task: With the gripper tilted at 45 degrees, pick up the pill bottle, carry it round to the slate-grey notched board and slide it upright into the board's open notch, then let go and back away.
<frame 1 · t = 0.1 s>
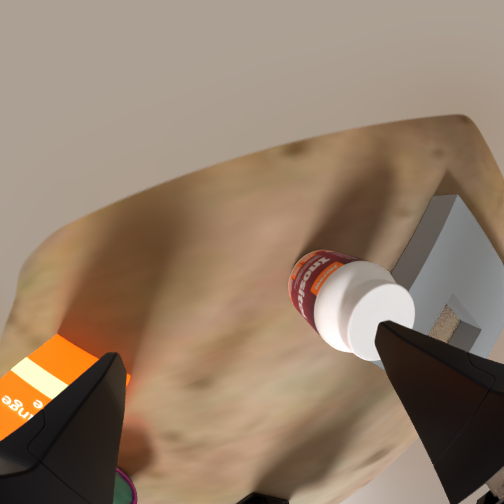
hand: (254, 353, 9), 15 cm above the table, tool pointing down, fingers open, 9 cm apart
orange juice: (85, 381, 24), on the table
pill bottle: (318, 283, 25), on the table
notched board: (442, 311, 28), on the table
pencil case: (86, 481, 25), on the table
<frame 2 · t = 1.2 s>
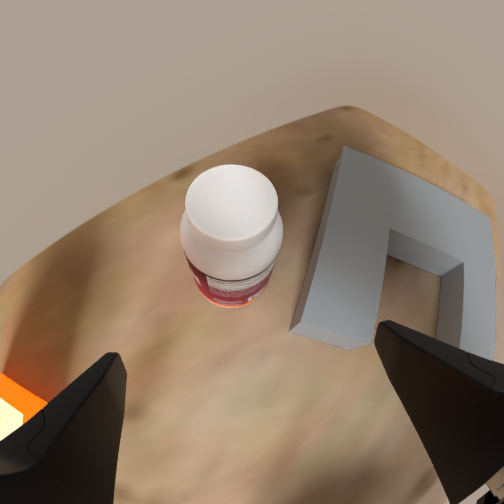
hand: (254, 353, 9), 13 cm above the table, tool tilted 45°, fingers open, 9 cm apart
orange juice: (27, 425, 16), on the table
pill bottle: (231, 275, 24), on the table
notched board: (407, 272, 25), on the table
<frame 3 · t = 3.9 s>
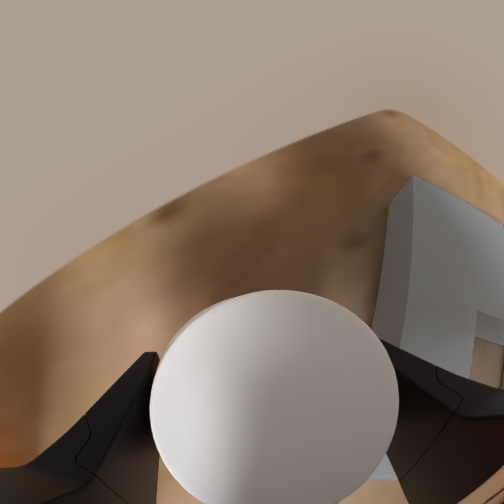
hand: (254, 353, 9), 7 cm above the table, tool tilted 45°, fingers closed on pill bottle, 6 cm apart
pill bottle: (248, 386, 14), on the table, touching gripper
notched board: (475, 349, 15), on the table
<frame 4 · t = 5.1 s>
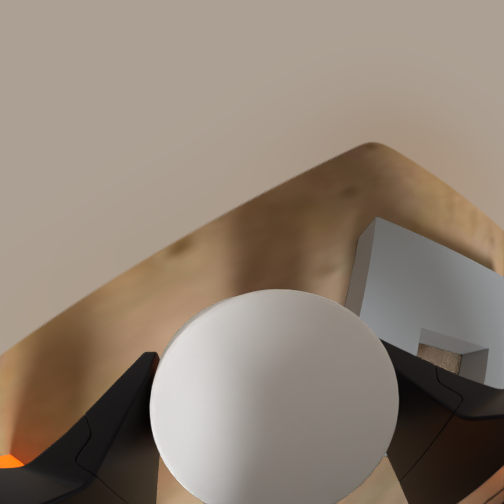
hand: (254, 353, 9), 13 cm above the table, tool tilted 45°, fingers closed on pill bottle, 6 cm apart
orange juice: (43, 502, 12), on the table
pill bottle: (248, 386, 14), point 6 cm above the table, touching gripper
notched board: (430, 356, 21), on the table
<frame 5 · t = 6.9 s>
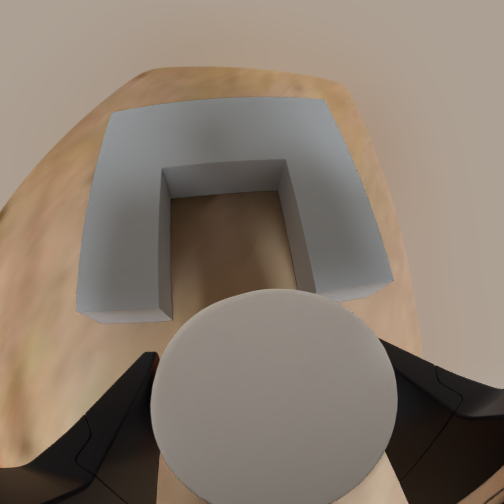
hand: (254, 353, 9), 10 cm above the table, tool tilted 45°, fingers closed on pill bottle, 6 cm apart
pill bottle: (248, 385, 15), point 3 cm above the table, touching gripper
notched board: (225, 203, 23), on the table
when the fingers open (8 cm above the table, at t = 10.2 s): pill bottle drops 1 cm, on the table.
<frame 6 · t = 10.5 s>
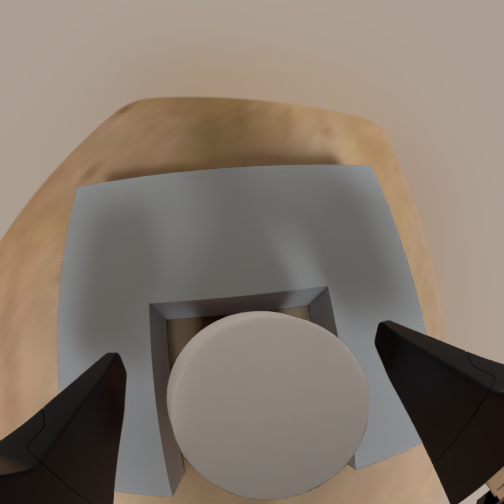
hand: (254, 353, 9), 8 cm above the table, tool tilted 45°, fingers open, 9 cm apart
pill bottle: (247, 388, 16), on the table
notched board: (240, 329, 17), on the table
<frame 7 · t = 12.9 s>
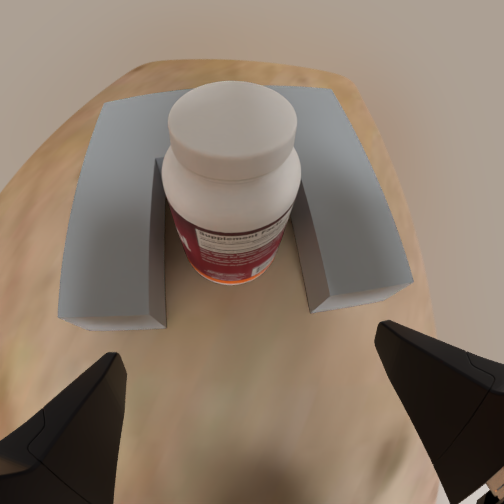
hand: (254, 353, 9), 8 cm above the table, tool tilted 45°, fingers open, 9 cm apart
pill bottle: (230, 245, 19), on the table
notched board: (225, 198, 21), on the table
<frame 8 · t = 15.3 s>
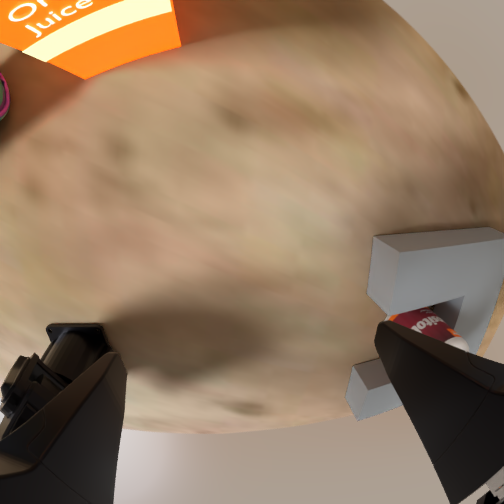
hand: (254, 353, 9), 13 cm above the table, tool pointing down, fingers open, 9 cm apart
orange juice: (124, 18, 14), on the table
pill bottle: (400, 322, 27), on the table
notched board: (426, 316, 27), on the table
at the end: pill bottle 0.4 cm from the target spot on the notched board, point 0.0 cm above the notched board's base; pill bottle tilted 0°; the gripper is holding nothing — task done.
